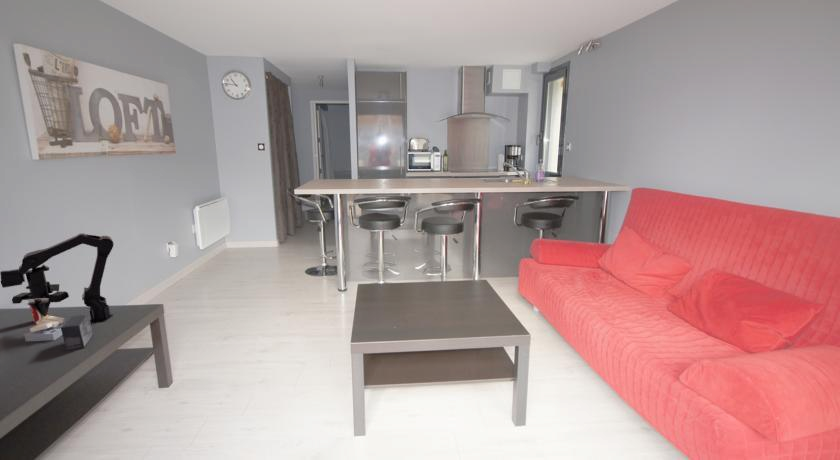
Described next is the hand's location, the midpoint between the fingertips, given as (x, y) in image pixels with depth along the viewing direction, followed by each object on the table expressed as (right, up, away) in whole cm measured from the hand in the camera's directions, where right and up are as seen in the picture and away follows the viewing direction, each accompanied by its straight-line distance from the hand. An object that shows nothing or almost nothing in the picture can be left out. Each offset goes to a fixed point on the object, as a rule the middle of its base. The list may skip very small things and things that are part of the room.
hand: (45, 315), depth 177 cm
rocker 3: (+3, -2, +1) cm, 4 cm away
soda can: (-12, -5, +11) cm, 17 cm away
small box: (+22, -10, -8) cm, 26 cm away
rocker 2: (+4, -3, -3) cm, 5 cm away
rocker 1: (+4, -4, -6) cm, 8 cm away
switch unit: (+4, -8, -1) cm, 9 cm away
